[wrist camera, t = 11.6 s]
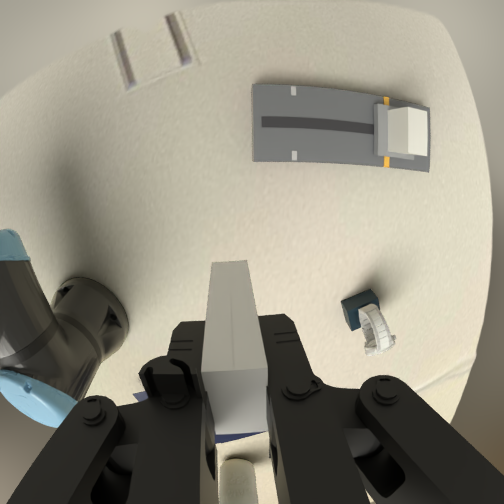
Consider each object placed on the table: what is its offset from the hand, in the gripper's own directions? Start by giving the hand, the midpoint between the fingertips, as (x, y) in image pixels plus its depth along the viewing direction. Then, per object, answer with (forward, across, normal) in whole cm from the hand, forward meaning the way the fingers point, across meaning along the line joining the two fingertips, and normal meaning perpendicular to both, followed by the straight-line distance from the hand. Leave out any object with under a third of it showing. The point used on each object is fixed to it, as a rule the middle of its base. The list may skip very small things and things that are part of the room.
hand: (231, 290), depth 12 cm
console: (+26, +17, +9) cm, 32 cm away
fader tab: (+23, +22, +9) cm, 33 cm away
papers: (+28, -4, -41) cm, 49 cm away
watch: (+26, +20, -19) cm, 38 cm away
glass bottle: (+28, -4, -70) cm, 75 cm away
